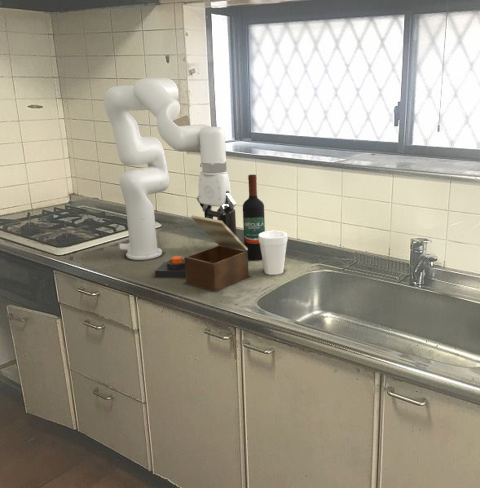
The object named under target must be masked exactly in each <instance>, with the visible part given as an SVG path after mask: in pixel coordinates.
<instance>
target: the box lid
mask: <svg viewBox="0 0 480 488" xmlns="http://www.w3.org/2000/svg"><path fill="white" fill-rule="evenodd" d="M211 210H212V209H211ZM211 210H208V211H207V216H206V218H205V216H200V215H199V216H198V215H191V216H190V218H191V219H192V220H193V221H194V222H195V223H196V224H197V225H198V226H199V227H200V228H201V229H202V230H203V231H204V232H205V233H206V234H207V235H208V236H209V237H210V238H211V239H212V240H213V241H214V242H215V243H216V244H217V246H218V245H223V246H227V247H232V248H236V249H239V250H245V251H247V250H248V248H247V247H246V246H245V245H244V242H243V241H241V240H240V238H239V237H237V234H236V235H235V234H234V233H233V232H232V231H231V230H230V229H229V228H228V227H227V226H226V225H225V224H224V223H223V221H221V215H222V212H217V210H213V211H211ZM210 216H212V217H213V219H210V218H209V217H210ZM217 217H218V219H217ZM214 218H216V219H214Z"/></svg>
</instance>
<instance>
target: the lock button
mask: <svg viewBox="0 0 480 488" xmlns="http://www.w3.org/2000/svg"><path fill="white" fill-rule="evenodd" d="M182 259H183V256H181V255H174V256H171V258H170V260H171V263H173V264H177V263H182V262H183V261H182Z"/></svg>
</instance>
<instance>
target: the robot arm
mask: <svg viewBox="0 0 480 488" xmlns="http://www.w3.org/2000/svg"><path fill="white" fill-rule="evenodd" d="M179 93H180V92H179V88H178V85H177V84H176V82H175V81H174V80H172V79H171V78H169V77H144V78H140V79H138V80H137V81H136V82H135V83H134V84H121V85H115V86H111V87H110V88H108V89H107V90H106V92H105V94H104V98H103V105H104V109H105V110H104V111H105V112H106V116H107V117H108V120H109V122H110V125H111V127H112V131H113V136H114V142H115V146H116V150H117V155H118V158H119V160H120V162H121V163H122V164H123V165H125V166H139V165H147V167H141V168H134V169H129V170H126V171H124V172H123V173H122V174H121V176H120V178H119V186H120V190H121V193H122V197H123V200H124V207H125V215H126V222H127V232H128V241H129V242H128V243H119V246H118V247H119V250H120V251H127V252H126V253H125V255H126V257H127V259H129V260H132V261H133V260H135V261H146V260H147V261H148V260H151V259H155V258H158V257H160V256H162V255H163V249H161V248H160V247H158V240H157V227H156V217H155V207H154V205H153V203H152V202H151V200H150V199H149V198H148V196H149V195H153V194H159V193H162V192H165V191H166V190H168V188H169V186H170V174H169V168H168V165H167V159H166V158H167V157H166V154H165V149H164V146H163V144H162V142H161V141H160V140H159V139H158V138H157V137H156V136H152V135H147V136H146V135H145V136H142V135H141V132H140V127H139V123H138V121H137V120H136V119H135V118H134V117H133V116H132V114H131V113H130V112H134V111H136V112H137V111H149V113H151V114H152V115H153V116H154V117H155V118H156V128H157V132H158V134H159V137H160V138H161V139H162V140H163V141H164V142H165V143H166V144H167V145H168V146H169V147H170V148H171V149H173V150H175V151H177V152H189V151H198V150H199V151H200V165H199V166H200V168H201V171H200V172H199V177H198V195H197V196H196V201H197V202H198V204H199V206H200V207H201V208H202V212H203V213H204V214H203V215H204V218H206V216H207V211H208V210H211V211H214V210H213V209H212V207H219V208H220V209H221V212H222V215H221V221H223V223H224V224H225V225H226V226H229V225H230V224H229V213H231V211H232V209H233V208H234V209H235V207H236V206H237V202H236V201H235V199H234V198H233V197H232V188H231V187H232V186H231V182H230V177H229V173H228V172H227V170H228V169H227V151H226V136H225V135H226V133H225V130H224V129H223V127H221V126H210V125H207V124H190V125H177V124H176V123H175V122H174V121H176V119H177V118H178V116H179V115H180V112H181V104H180V103H179V101H178V99H179ZM228 204H229V205H228ZM224 206H225V208H226V209H224ZM209 218H210V219H214V217H212V216H210V217H209Z"/></svg>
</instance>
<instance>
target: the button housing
mask: <svg viewBox="0 0 480 488" xmlns="http://www.w3.org/2000/svg"><path fill="white" fill-rule="evenodd" d="M182 261H183V262H182V263H177V264H173V263H171V259H168V260H167V261H163V262H162V264H161V265H159V267H157V268H156V269H155V270H154V274H155V278H185V279H186V273H185V260H184V258H182Z"/></svg>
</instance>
